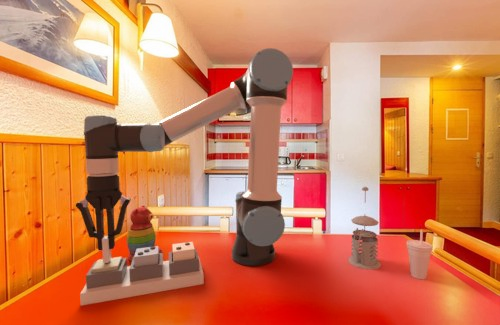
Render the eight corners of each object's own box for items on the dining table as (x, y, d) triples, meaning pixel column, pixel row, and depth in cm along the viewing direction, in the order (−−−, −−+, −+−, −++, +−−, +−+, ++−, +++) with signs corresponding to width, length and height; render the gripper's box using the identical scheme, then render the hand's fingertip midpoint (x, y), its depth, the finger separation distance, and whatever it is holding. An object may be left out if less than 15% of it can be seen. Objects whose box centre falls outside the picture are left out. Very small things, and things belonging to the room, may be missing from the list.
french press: (384, 261, 84) (386, 186, 82) (373, 274, 75) (374, 191, 74) (354, 253, 91) (355, 183, 89) (341, 264, 82) (341, 187, 81)
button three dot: (158, 259, 76) (158, 244, 76) (158, 267, 71) (157, 252, 70) (137, 262, 74) (136, 247, 74) (134, 271, 69) (133, 255, 69)
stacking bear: (146, 264, 84) (144, 211, 83) (120, 262, 86) (117, 210, 85) (164, 251, 95) (162, 204, 94) (139, 249, 97) (137, 203, 96)
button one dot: (122, 270, 73) (121, 255, 73) (118, 280, 68) (117, 264, 67) (98, 273, 72) (97, 258, 71) (92, 284, 66) (91, 268, 66)
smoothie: (423, 284, 70) (425, 234, 69) (400, 274, 76) (401, 227, 75) (436, 278, 73) (438, 230, 72) (413, 268, 79) (414, 224, 78)
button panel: (198, 265, 83) (198, 245, 83) (203, 283, 72) (203, 261, 71) (94, 281, 74) (93, 259, 74) (80, 305, 63) (79, 279, 62)
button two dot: (192, 254, 79) (192, 240, 79) (194, 262, 74) (194, 247, 73) (172, 257, 78) (172, 243, 77) (173, 265, 72) (172, 250, 72)
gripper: (131, 172, 73) (135, 252, 75) (79, 174, 69) (84, 258, 71) (127, 174, 66) (131, 263, 68) (69, 177, 62) (74, 270, 64)
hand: (107, 260), depth 69 cm, fingers closed
